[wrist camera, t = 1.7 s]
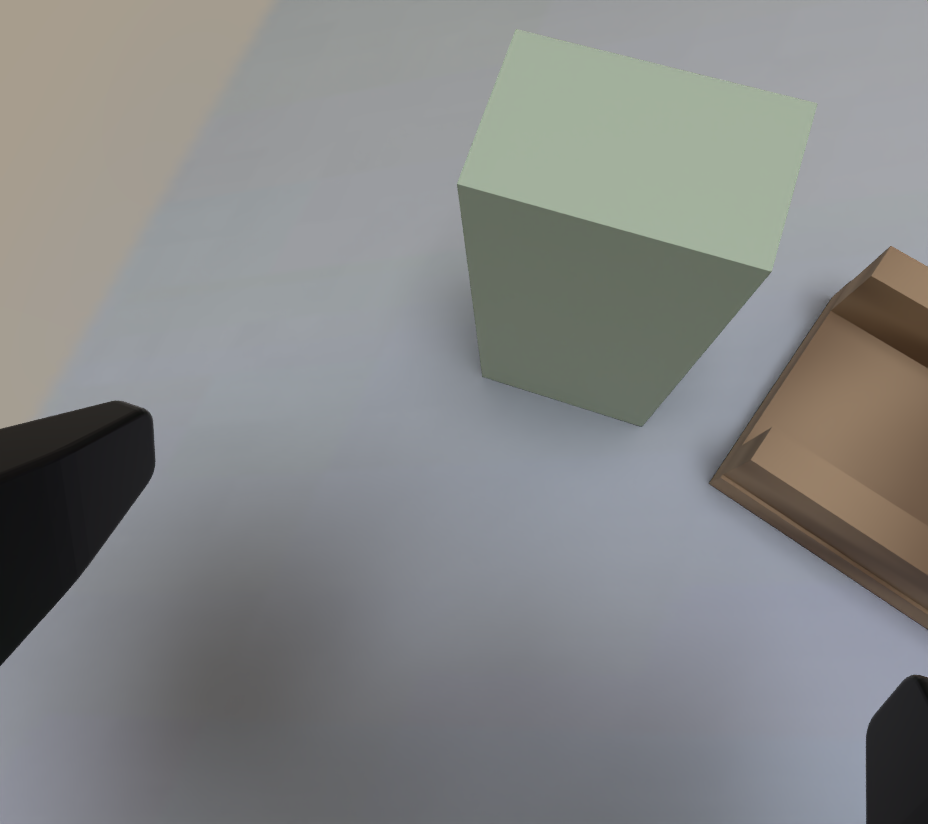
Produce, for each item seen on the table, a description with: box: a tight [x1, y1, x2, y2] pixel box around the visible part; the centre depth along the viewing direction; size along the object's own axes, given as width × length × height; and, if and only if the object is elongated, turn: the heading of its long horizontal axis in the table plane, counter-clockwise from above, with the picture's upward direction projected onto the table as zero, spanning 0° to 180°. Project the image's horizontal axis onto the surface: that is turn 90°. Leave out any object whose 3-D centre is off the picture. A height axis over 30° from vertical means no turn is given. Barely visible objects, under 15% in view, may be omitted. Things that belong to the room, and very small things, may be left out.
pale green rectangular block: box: [457, 29, 817, 427], centre depth 17 cm, size 3×5×11 cm, turn 71°
